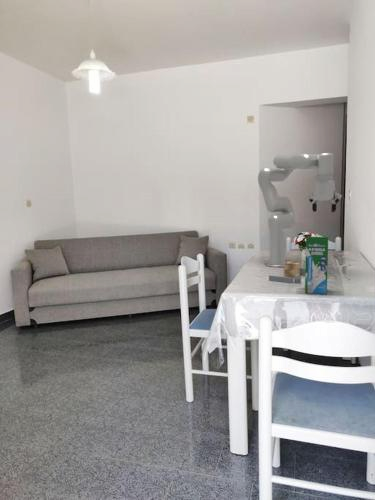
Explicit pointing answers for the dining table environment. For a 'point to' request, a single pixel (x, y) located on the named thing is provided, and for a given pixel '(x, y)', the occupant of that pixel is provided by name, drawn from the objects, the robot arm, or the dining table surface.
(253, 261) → the dining table surface
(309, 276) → the milk carton
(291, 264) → the block
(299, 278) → the bay
